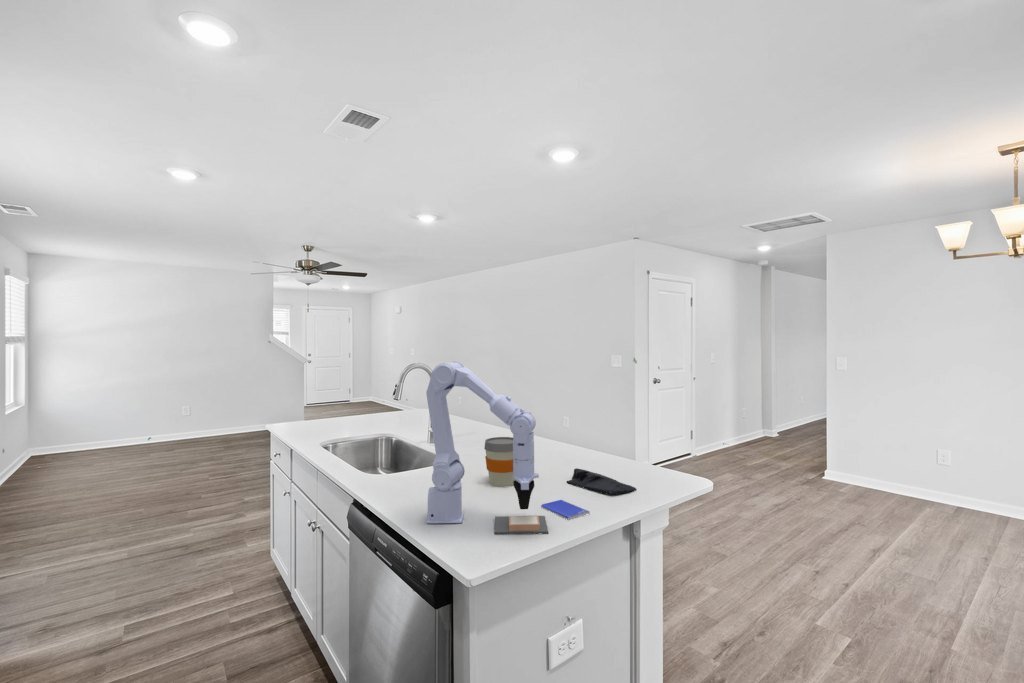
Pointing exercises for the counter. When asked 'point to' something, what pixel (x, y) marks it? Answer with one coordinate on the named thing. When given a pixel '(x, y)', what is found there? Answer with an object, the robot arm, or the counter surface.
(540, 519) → the mat
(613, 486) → the dark slate chunk
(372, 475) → the counter surface
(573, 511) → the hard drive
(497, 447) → the reusable coffee cup
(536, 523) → the tile
